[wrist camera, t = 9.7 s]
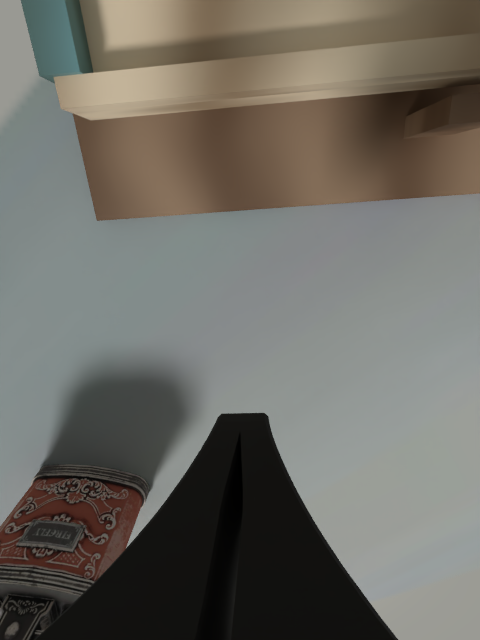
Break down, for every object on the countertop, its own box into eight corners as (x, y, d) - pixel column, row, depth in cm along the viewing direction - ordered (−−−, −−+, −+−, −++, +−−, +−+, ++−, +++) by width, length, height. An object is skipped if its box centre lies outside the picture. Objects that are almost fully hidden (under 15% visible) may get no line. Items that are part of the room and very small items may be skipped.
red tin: (148, 471, 23) (74, 662, 14) (149, 506, 24) (82, 701, 15) (35, 459, 23) (-113, 640, 14) (42, 494, 25) (-89, 680, 15)
